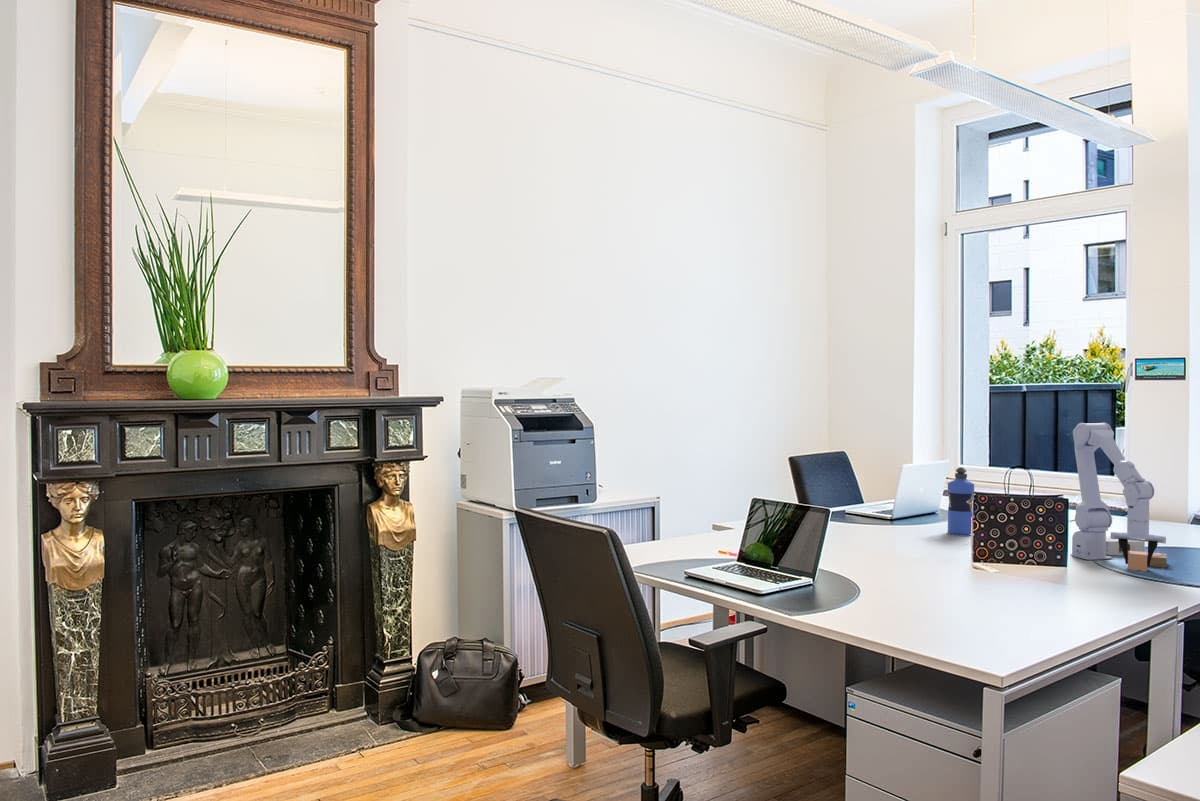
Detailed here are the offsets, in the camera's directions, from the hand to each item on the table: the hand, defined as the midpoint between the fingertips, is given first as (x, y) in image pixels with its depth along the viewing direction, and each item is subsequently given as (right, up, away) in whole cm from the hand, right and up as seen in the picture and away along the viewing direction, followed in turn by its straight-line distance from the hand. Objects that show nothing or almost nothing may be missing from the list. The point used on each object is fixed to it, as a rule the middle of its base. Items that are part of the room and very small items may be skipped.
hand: (1137, 564), depth 271 cm
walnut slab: (+9, -1, +7) cm, 11 cm away
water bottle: (-29, 0, +62) cm, 69 cm away
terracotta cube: (0, -1, 0) cm, 1 cm away
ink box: (+15, +2, +24) cm, 29 cm away
